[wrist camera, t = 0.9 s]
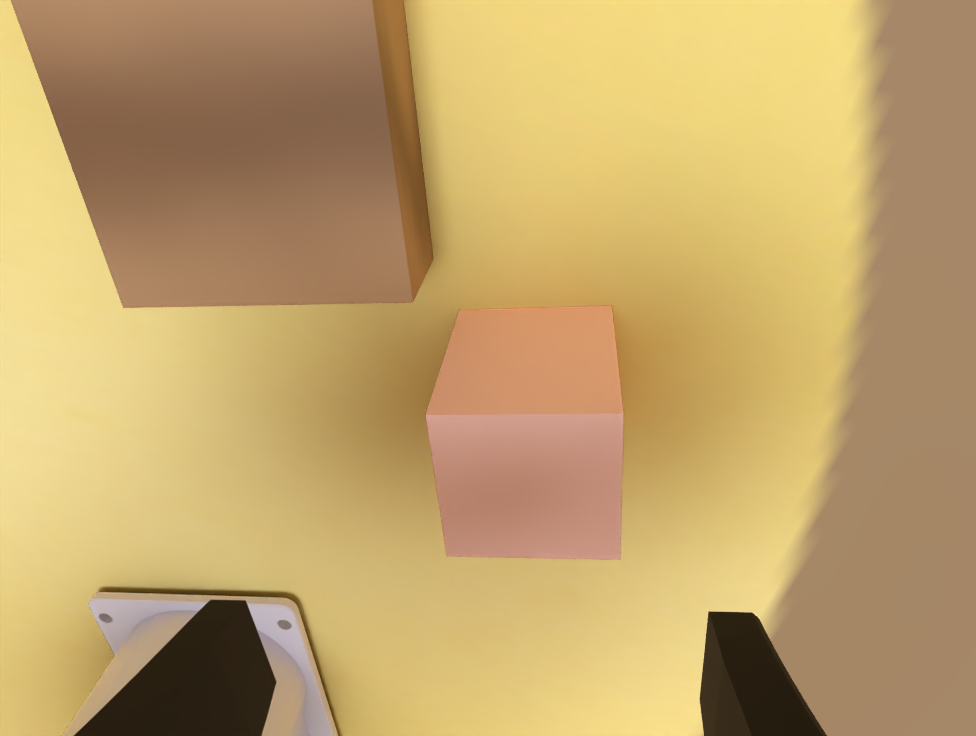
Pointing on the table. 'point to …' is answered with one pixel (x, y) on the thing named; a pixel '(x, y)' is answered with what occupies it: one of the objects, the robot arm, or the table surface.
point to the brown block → (241, 146)
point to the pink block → (529, 434)
